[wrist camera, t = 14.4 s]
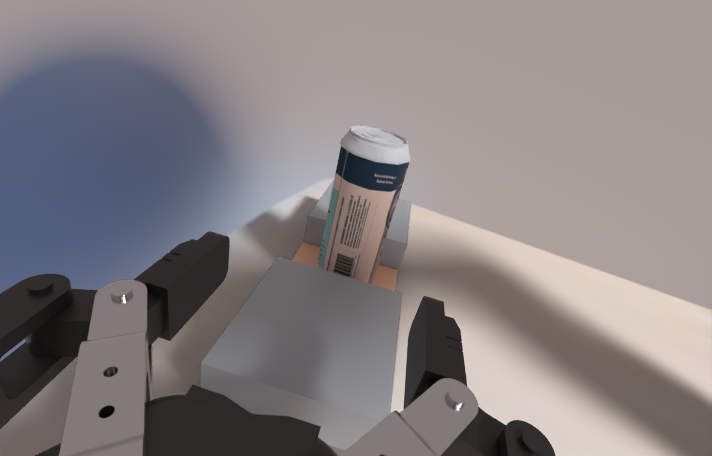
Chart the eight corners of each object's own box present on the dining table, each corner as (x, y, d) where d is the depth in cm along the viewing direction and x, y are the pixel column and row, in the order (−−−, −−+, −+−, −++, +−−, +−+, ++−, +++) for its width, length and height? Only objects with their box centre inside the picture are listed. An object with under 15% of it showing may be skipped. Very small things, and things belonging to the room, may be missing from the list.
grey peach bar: (401, 232, 40) (411, 202, 38) (367, 470, 17) (389, 423, 15) (327, 211, 41) (333, 180, 39) (200, 414, 18) (200, 363, 16)
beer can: (382, 290, 28) (429, 148, 22) (333, 305, 25) (373, 147, 20) (350, 257, 31) (384, 125, 25) (303, 267, 28) (329, 121, 23)
